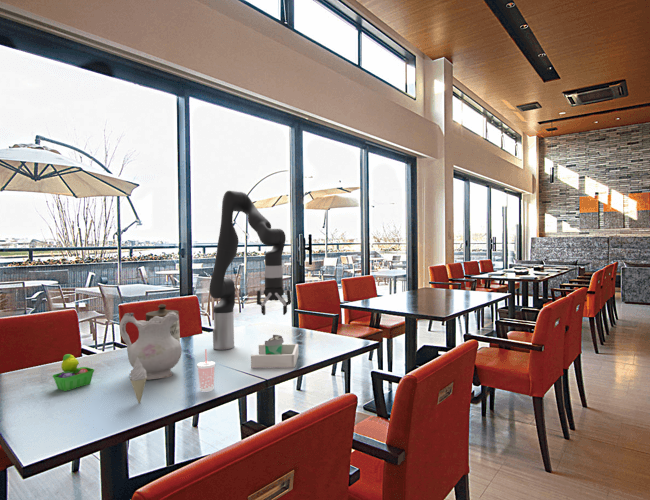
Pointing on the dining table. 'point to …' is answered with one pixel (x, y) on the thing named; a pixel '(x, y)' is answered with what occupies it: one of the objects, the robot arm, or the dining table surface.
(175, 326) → the lidded jar
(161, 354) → the ceramic pitcher
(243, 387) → the dining table surface
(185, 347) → the dining table surface
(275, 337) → the food container
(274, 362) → the box
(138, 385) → the ice cream cone
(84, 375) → the fruit basket
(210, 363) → the beverage cup
